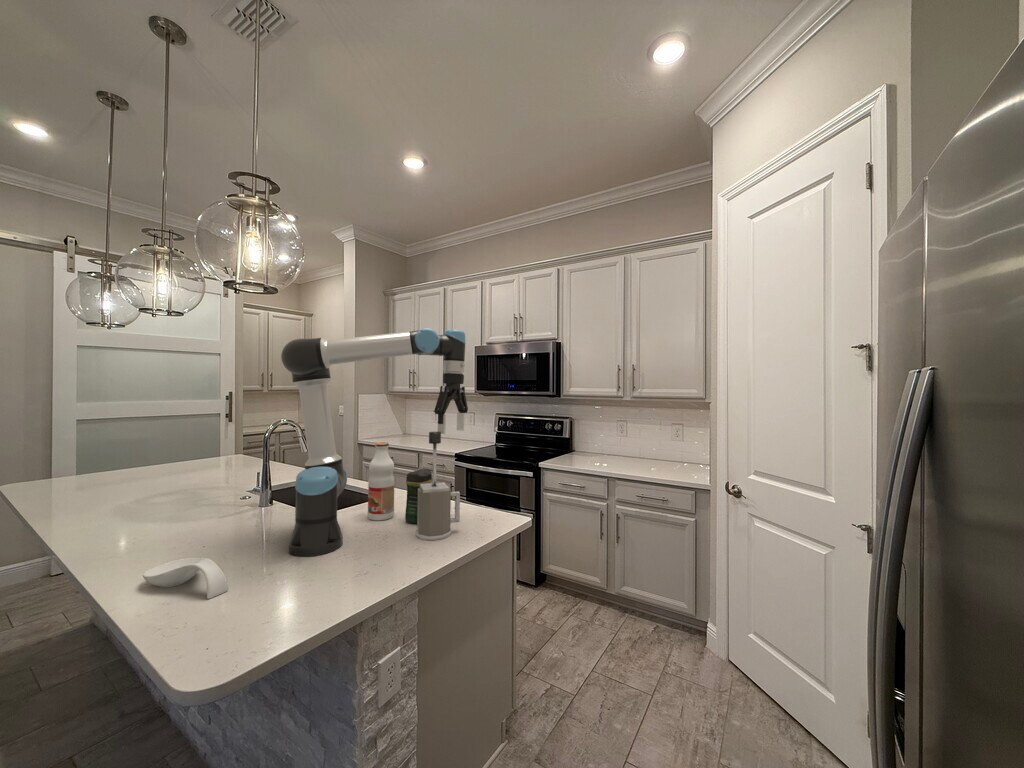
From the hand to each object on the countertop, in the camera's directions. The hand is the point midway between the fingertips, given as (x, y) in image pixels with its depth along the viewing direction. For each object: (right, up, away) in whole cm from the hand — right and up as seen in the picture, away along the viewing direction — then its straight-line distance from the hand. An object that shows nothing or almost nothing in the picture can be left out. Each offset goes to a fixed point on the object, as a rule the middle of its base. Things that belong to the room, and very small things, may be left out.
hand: (451, 431), depth 150 cm
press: (-3, -33, -10) cm, 35 cm away
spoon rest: (-58, -33, -47) cm, 82 cm away
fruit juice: (-28, -33, +7) cm, 44 cm away
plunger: (-4, -19, -10) cm, 22 cm away
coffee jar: (-13, -33, +4) cm, 36 cm away
